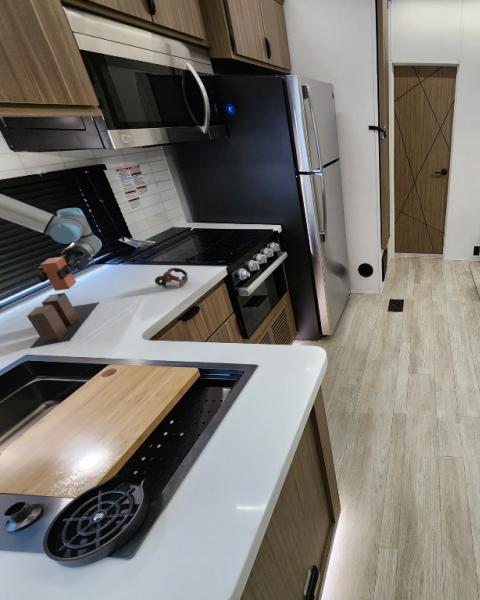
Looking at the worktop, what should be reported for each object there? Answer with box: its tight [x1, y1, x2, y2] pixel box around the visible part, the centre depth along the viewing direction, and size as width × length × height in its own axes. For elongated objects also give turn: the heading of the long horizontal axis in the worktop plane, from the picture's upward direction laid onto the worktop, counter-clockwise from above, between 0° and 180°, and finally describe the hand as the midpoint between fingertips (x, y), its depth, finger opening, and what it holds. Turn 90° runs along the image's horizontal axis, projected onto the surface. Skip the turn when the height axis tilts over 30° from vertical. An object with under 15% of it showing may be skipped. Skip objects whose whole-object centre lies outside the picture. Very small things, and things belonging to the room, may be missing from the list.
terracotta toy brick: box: [40, 256, 77, 292], centre depth 116 cm, size 4×6×10 cm
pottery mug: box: [154, 267, 189, 288], centre depth 140 cm, size 12×10×8 cm
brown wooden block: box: [41, 292, 79, 327], centre depth 113 cm, size 4×6×10 cm
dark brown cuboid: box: [26, 305, 68, 343], centre depth 105 cm, size 4×6×10 cm
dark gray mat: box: [29, 301, 100, 349], centre depth 115 cm, size 28×10×1 cm, turn 23°
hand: (50, 277), depth 111 cm, fingers closed on terracotta toy brick, 4 cm apart
